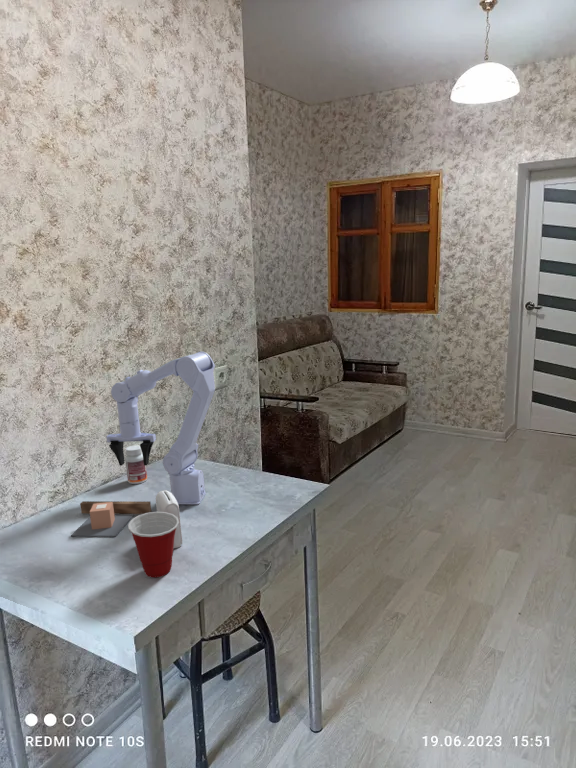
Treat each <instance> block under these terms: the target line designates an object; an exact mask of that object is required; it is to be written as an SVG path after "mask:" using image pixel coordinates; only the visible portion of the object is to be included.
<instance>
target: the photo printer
mask: <svg viewBox="0 0 576 768" xmlns="http://www.w3.org/2000/svg"><path fill="white" fill-rule="evenodd" d="M155 505H156V512H167V513H170V514H173V515H175V516H176V517H177V518H178V521H179V524H178V526H177V527H176V531H175V536H174V547H173V549H177V548H180V547H181V546H182V545H183V533H182V524H181V515H180V514H181V513H180V508H179V507H180V506H179V505H180V504H178V502H177V500H176V499H175V497H174V496H173V494H172V493H171V491H169V490H166V489H165V490H160V491H159V492H157V493H156V495H155Z"/></svg>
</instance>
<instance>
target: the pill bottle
mask: <svg viewBox="0 0 576 768" xmlns="http://www.w3.org/2000/svg"><path fill="white" fill-rule="evenodd" d="M124 460H125V469H126V478H127V483H129V484H131V485H137V484H138V485H139V484H143V483H145V482H146V481H147V480H148V472H147V465H144V463H143V454H142V450H141V447H140V444H139V445H138V444H134V445H129V446H127V447H125V457H124Z"/></svg>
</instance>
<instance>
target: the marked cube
mask: <svg viewBox="0 0 576 768" xmlns="http://www.w3.org/2000/svg"><path fill="white" fill-rule="evenodd" d="M89 517H90V519H91V526H92V529H101V528H110V527H112V525H113V523H114V520H115V516H114V508H113V502H106V503H97V504H93V506H92V508H91V510H90V514H89Z"/></svg>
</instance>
